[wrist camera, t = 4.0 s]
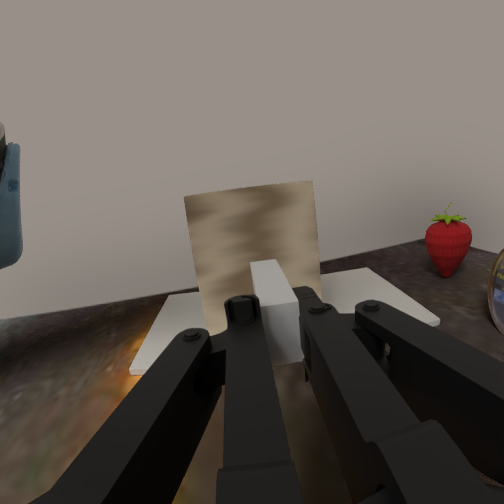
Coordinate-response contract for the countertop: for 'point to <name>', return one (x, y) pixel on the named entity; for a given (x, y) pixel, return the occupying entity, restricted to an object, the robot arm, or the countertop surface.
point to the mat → (333, 292)
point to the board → (251, 241)
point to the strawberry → (448, 242)
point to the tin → (497, 291)
